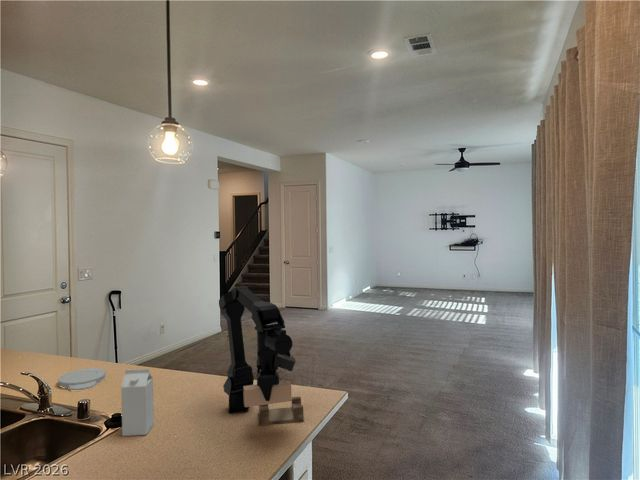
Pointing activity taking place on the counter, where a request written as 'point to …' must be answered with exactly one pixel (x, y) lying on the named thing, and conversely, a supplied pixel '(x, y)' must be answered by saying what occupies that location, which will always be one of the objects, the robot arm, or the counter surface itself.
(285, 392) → the clay bar
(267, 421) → the bracket
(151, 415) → the milk carton
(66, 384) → the lid
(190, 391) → the counter surface
